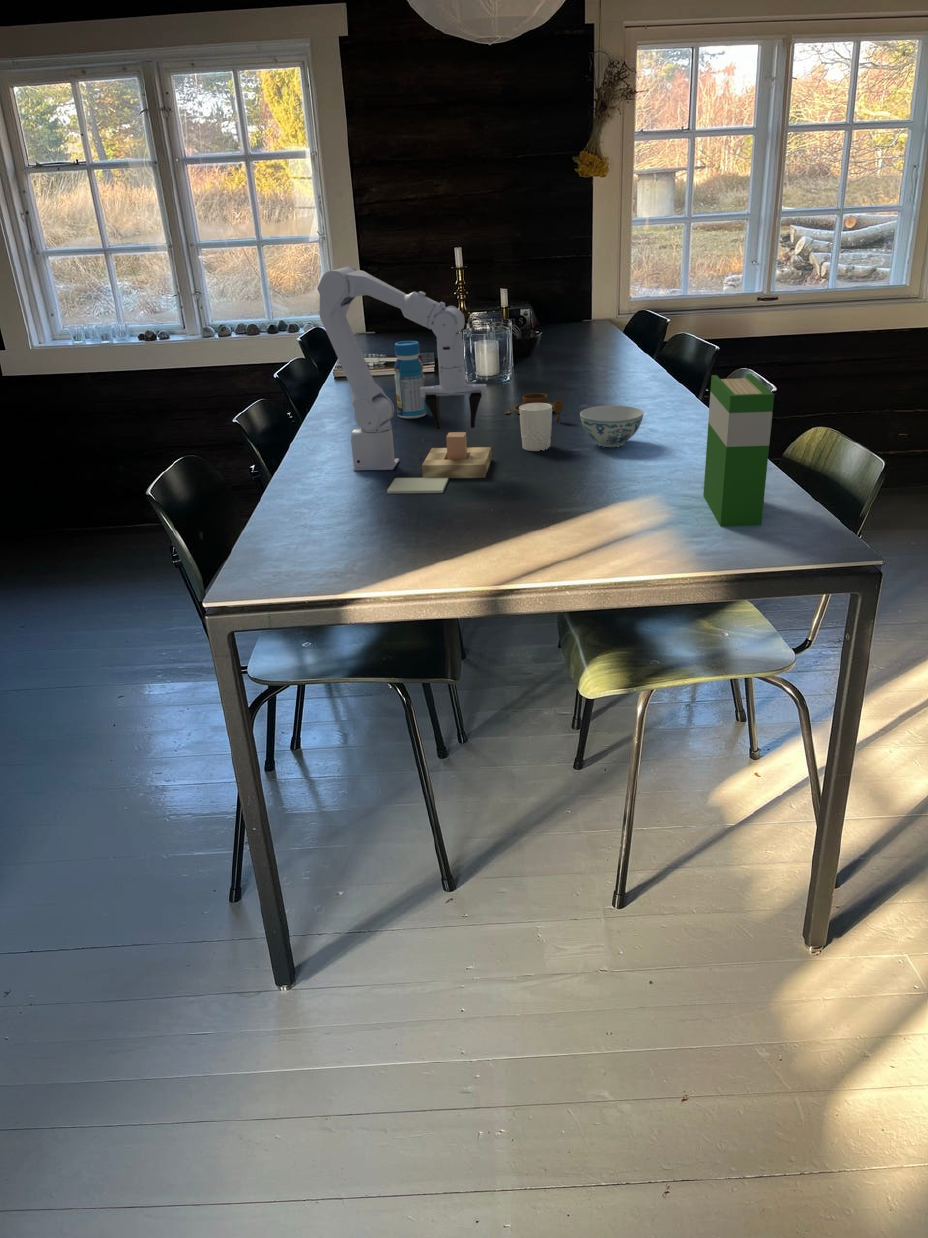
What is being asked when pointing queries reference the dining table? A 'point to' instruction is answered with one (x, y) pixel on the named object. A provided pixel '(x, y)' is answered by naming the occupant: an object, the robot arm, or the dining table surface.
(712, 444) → the hardback book
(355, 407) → the robot arm
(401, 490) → the mat
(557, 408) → the place setting
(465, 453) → the terracotta block
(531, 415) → the white cup
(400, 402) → the beverage bottle
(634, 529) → the dining table surface
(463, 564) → the dining table surface
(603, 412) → the chinaware
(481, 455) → the pocket block
